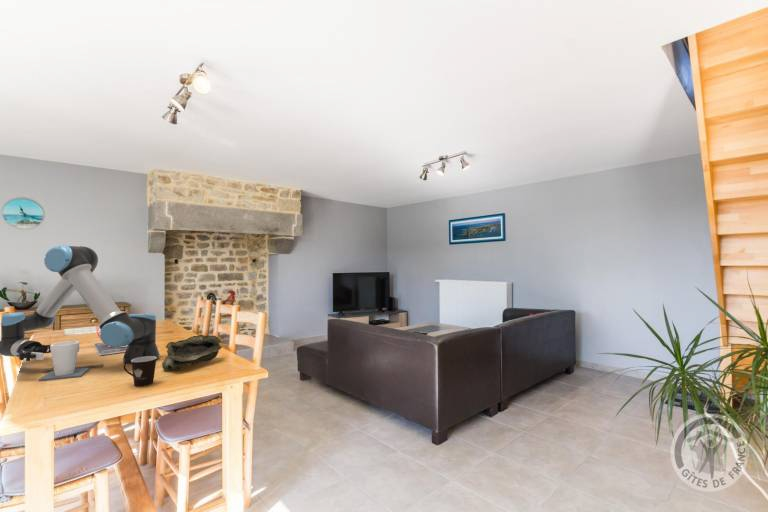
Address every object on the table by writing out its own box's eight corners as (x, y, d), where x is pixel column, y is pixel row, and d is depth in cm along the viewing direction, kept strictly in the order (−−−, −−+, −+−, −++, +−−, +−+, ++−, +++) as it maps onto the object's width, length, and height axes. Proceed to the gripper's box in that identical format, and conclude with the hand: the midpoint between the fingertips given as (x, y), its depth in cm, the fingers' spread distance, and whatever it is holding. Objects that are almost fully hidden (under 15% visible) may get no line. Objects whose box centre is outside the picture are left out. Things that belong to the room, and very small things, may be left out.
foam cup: (83, 369, 163) (84, 340, 163) (70, 376, 154) (70, 345, 154) (59, 370, 162) (59, 341, 162) (44, 377, 153) (44, 346, 153)
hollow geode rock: (218, 367, 186) (207, 343, 192) (230, 352, 182) (218, 328, 187) (160, 381, 162) (150, 353, 168) (173, 364, 158) (161, 336, 164)
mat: (90, 369, 167) (90, 367, 167) (81, 376, 156) (81, 375, 156) (51, 372, 161) (51, 371, 161) (38, 381, 150) (38, 379, 150)
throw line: (103, 366, 171) (103, 364, 171) (102, 367, 169) (102, 365, 169) (42, 372, 162) (42, 369, 162) (41, 373, 161) (41, 370, 161)
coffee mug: (161, 382, 149) (161, 357, 150) (139, 388, 142) (139, 363, 142) (143, 378, 154) (143, 354, 154) (121, 384, 147) (121, 359, 147)
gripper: (58, 350, 176) (91, 354, 170) (-10, 365, 152) (26, 369, 146) (58, 335, 176) (91, 338, 170) (-9, 347, 152) (26, 350, 146)
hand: (61, 352), depth 158 cm, fingers open, 13 cm apart
